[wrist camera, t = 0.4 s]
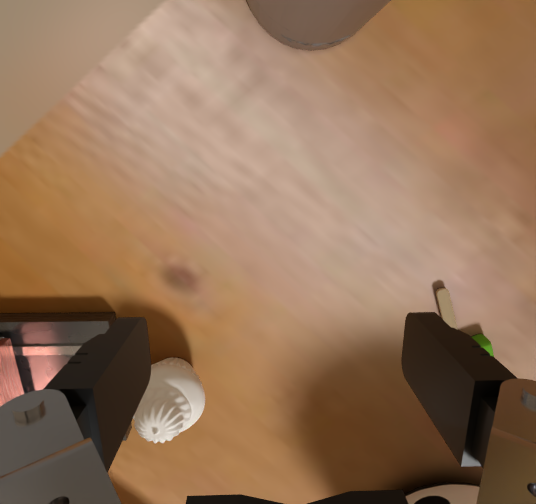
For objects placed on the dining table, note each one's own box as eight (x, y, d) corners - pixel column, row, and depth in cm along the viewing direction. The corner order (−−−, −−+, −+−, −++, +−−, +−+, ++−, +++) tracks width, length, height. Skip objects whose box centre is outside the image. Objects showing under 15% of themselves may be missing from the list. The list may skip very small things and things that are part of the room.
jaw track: (-77, 314, 31) (-153, 357, 25) (115, 312, 31) (82, 354, 25) (-39, 430, 34) (-97, 491, 29) (131, 427, 35) (107, 486, 29)
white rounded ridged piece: (211, 400, 34) (199, 467, 28) (143, 400, 34) (115, 467, 27) (209, 341, 32) (196, 398, 26) (137, 341, 32) (105, 398, 25)
